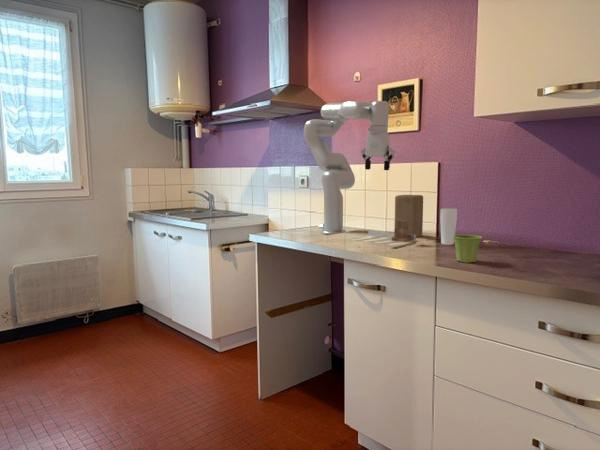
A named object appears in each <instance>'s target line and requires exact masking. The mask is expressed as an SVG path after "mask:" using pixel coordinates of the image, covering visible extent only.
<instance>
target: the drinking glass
mask: <svg viewBox="0 0 600 450" xmlns="http://www.w3.org/2000/svg"><path fill="white" fill-rule="evenodd" d="M439 210H440V211H439V223H440V225H439V226H440V243H441V245H443V246H444V245H445V246H453V245H455V242H454V238H453V237H452V236H453V235H456V229H457V220H458V208H450V207H448V208H447V207H446V208H444V207H443V208H440V209H439Z"/></svg>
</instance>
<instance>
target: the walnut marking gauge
mask: <svg viewBox="0 0 600 450" xmlns="http://www.w3.org/2000/svg"><path fill="white" fill-rule="evenodd" d="M393 233H394V237H392V241H401V242H406V241H410V237H408V220H396V221H395V220H394V231H393Z"/></svg>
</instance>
